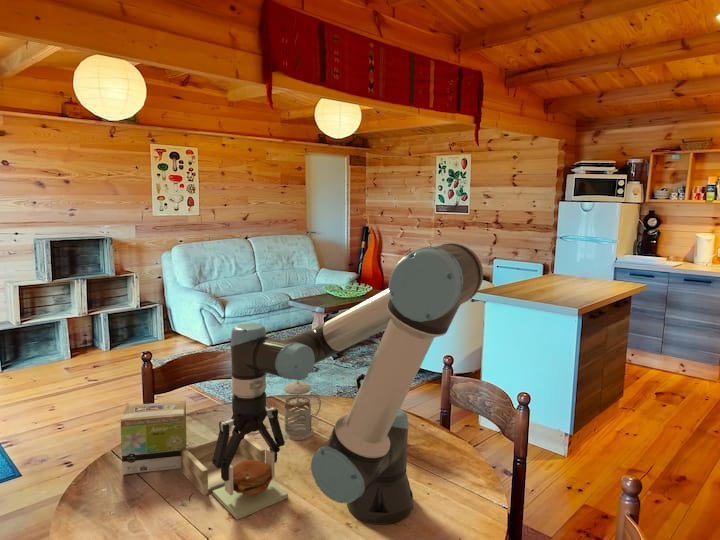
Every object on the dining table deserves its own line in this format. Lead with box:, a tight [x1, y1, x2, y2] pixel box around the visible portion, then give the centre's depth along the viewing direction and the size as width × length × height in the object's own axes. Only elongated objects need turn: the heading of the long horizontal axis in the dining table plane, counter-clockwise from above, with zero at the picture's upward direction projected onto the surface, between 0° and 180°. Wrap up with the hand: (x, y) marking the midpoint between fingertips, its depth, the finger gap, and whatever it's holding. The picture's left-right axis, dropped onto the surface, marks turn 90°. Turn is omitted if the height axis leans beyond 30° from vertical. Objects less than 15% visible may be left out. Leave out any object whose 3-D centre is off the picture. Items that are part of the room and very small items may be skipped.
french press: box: [281, 380, 322, 441], centre depth 151 cm, size 10×12×25 cm
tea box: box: [120, 400, 187, 476], centre depth 133 cm, size 15×10×15 cm
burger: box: [233, 460, 273, 496], centre depth 119 cm, size 10×9×5 cm
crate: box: [181, 431, 266, 496], centre depth 130 cm, size 13×16×6 cm
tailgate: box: [210, 479, 289, 520], centre depth 120 cm, size 13×13×1 cm
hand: (250, 483), depth 119 cm, fingers closed on burger, 10 cm apart
